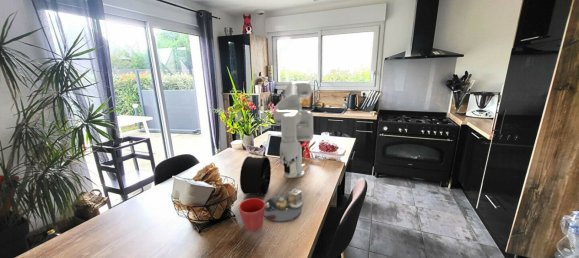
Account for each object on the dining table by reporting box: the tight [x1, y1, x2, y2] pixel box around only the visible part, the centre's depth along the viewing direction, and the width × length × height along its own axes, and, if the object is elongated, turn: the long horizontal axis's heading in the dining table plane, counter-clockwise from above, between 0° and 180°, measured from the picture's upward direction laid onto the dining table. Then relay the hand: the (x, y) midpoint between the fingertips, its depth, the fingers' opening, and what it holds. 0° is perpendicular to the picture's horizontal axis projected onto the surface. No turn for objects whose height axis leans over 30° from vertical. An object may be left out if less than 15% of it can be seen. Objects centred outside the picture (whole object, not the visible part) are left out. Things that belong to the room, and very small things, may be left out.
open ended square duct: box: [283, 160, 297, 179], centre depth 120 cm, size 7×7×7 cm
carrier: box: [264, 188, 304, 223], centre depth 107 cm, size 19×19×8 cm
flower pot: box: [238, 197, 265, 231], centre depth 96 cm, size 11×11×10 cm
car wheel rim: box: [239, 155, 272, 197], centre depth 121 cm, size 20×10×20 cm, turn 168°
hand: (290, 170), depth 120 cm, fingers closed on open ended square duct, 4 cm apart
